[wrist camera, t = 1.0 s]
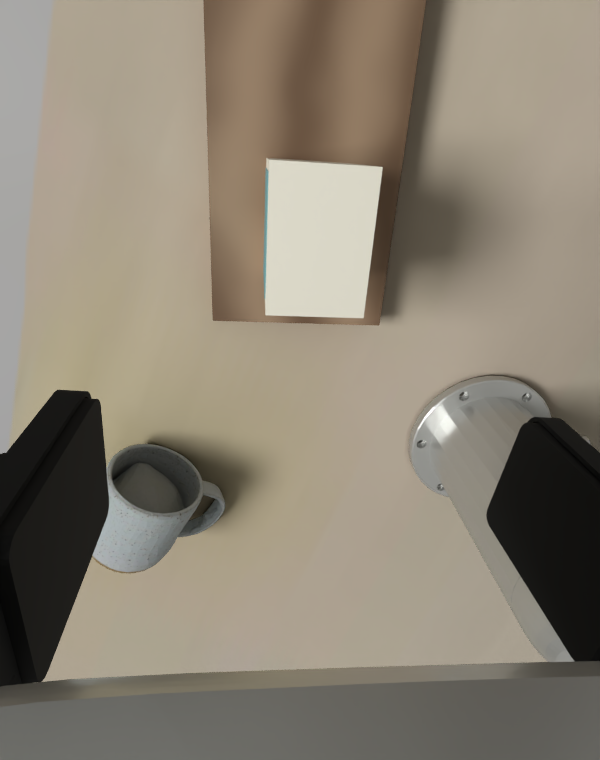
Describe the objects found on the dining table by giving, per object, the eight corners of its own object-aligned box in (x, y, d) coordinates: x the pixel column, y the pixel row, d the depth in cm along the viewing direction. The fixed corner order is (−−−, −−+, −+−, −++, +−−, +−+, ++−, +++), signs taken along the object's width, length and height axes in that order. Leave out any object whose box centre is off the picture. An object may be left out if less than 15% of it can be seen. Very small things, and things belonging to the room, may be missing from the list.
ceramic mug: (94, 501, 40) (63, 572, 34) (122, 431, 37) (94, 494, 31) (206, 533, 43) (197, 604, 37) (240, 470, 40) (238, 535, 34)
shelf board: (432, -122, 24) (467, -177, 20) (373, 316, 35) (387, 337, 31) (203, -152, 23) (191, -217, 19) (215, 311, 33) (209, 333, 29)
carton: (347, 163, 28) (382, 166, 20) (336, 275, 31) (363, 318, 23) (265, 157, 27) (268, 159, 19) (262, 272, 30) (264, 315, 22)
